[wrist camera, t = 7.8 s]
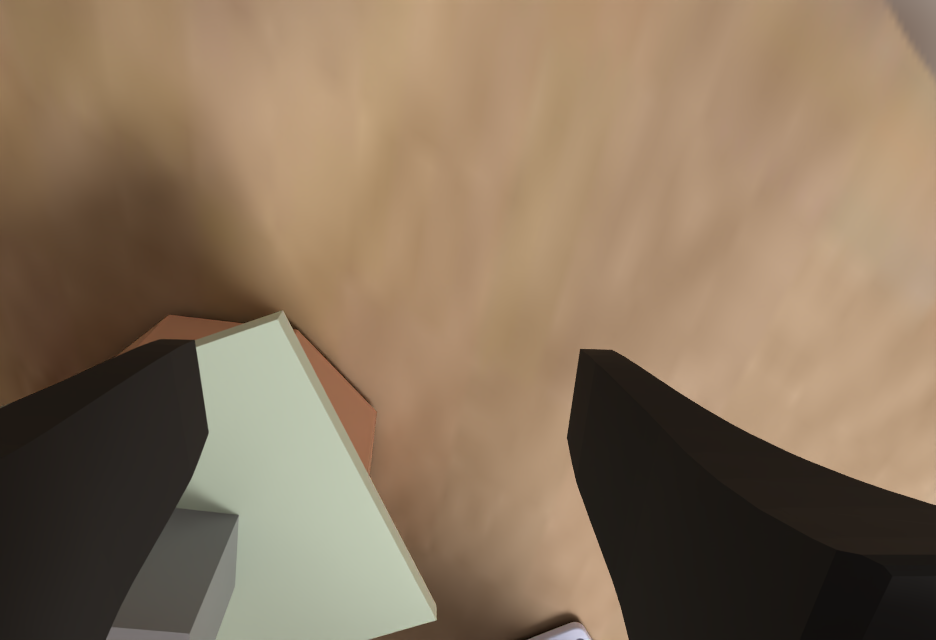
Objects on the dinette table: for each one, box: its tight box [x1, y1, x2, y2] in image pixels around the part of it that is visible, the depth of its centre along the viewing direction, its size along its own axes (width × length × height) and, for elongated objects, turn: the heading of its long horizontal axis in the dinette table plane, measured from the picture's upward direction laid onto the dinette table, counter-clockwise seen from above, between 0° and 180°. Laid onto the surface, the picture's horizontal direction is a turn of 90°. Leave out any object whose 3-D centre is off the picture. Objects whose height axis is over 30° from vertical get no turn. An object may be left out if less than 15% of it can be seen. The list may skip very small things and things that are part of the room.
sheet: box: [0, 310, 437, 640], centre depth 17 cm, size 12×12×5 cm
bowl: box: [117, 315, 377, 477], centre depth 21 cm, size 11×11×5 cm
